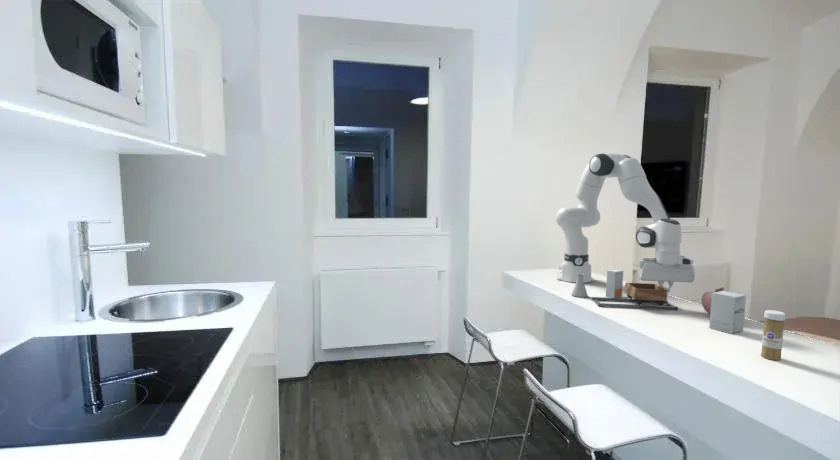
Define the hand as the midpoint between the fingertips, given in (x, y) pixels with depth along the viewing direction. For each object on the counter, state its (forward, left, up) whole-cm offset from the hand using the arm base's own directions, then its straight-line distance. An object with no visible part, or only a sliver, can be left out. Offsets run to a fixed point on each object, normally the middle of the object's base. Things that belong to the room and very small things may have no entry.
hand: (665, 291), depth 173 cm
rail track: (0, -12, -6) cm, 14 cm away
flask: (-12, -31, -6) cm, 34 cm away
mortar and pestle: (+14, +14, -6) cm, 21 cm away
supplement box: (+28, +9, -6) cm, 30 cm away
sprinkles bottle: (+53, +8, -6) cm, 54 cm away
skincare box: (-13, -16, -6) cm, 21 cm away
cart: (0, -8, -4) cm, 9 cm away
